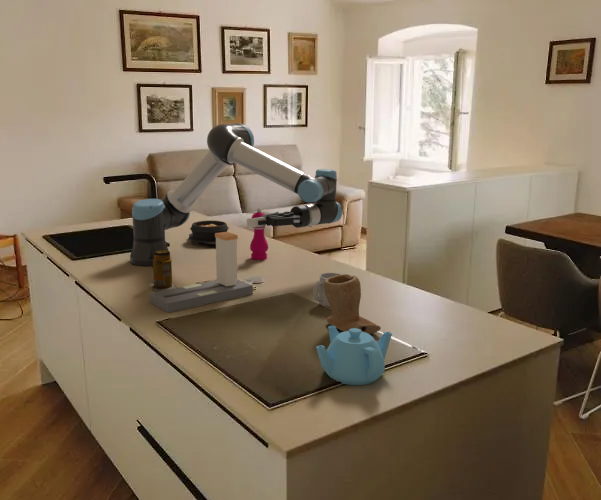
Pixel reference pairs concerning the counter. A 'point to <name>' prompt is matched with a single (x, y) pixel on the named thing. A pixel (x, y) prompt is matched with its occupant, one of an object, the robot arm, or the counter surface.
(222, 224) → the casserole
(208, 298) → the console
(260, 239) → the pepper mill
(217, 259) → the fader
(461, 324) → the counter surface
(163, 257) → the condiment
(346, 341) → the teapot
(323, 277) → the cup
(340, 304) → the brown boot
